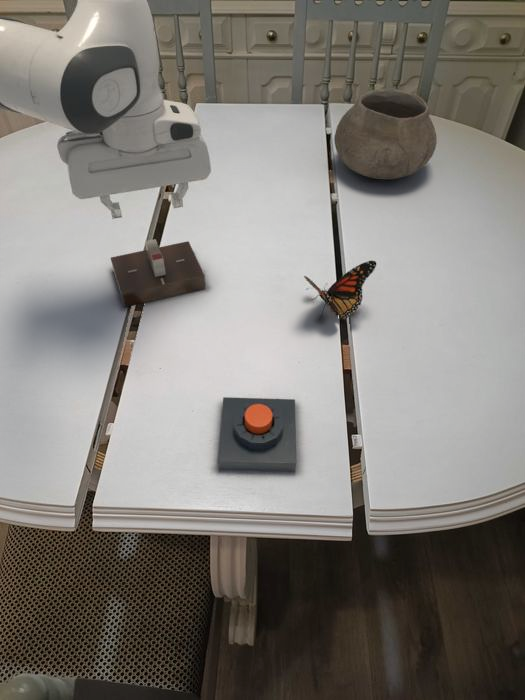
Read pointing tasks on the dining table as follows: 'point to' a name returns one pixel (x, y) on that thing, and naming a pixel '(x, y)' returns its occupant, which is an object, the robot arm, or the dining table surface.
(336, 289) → the butterfly
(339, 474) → the dining table surface
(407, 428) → the dining table surface
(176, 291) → the dial panel
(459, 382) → the dining table surface
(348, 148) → the clay pot
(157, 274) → the dial knob
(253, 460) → the button box
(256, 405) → the orange button
